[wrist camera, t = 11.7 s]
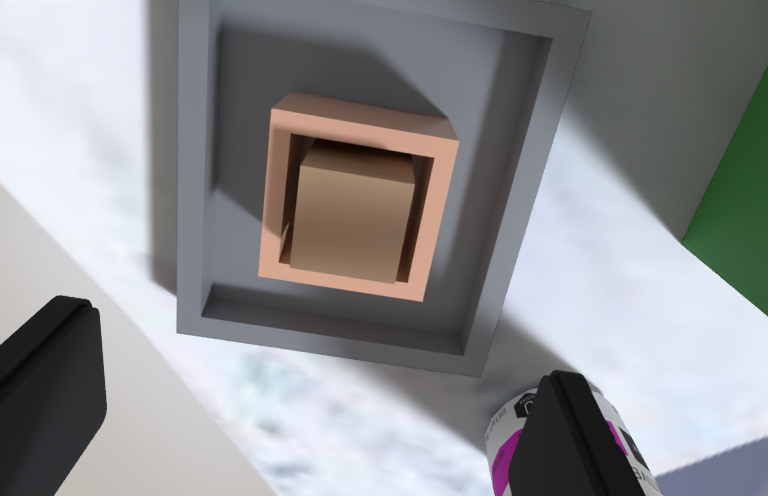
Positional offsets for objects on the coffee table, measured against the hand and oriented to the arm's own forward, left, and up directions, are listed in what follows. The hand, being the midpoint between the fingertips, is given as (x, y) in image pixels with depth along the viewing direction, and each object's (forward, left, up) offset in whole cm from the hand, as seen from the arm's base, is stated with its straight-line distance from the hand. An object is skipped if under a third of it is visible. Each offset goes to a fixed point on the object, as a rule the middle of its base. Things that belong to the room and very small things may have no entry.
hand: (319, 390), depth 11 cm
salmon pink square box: (0, 0, -16) cm, 16 cm away
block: (0, 0, -15) cm, 15 cm away
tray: (0, 0, -16) cm, 16 cm away
